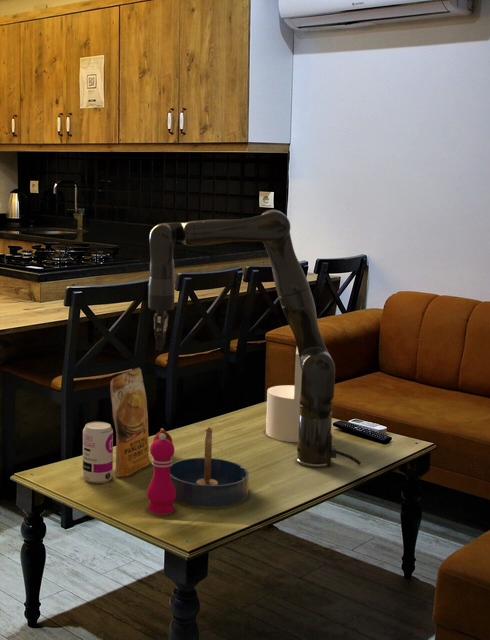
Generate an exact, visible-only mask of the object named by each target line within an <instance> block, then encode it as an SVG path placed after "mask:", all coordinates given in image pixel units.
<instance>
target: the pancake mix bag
mask: <svg viewBox="0 0 490 640" xmlns="http://www.w3.org/2000/svg"><path fill="white" fill-rule="evenodd" d="M109 384H110V386H109V387H110V388H109V392H110V399H111V406H112V419H113V425H114V429H115V438H116V439H115V441H116V442H115V443H116V445H115V469H114V475H115V477H116V478H121V477H129V476H132V475H134V474H136V473H137V471H140V470H141V469H142V468H145V467H147V466H149V465H150V464H151V461H150V456H149V455H150V454H149V453H150V444H149V443H150V442H149V440H150V438H149V414H148V401H147V400H148V399H147V393H146V388H145V384H144V377H143V372H142V369H141V367H135V368H133V369H131V370H128V371H124V372H122V373H121V374H118V375H116V376H115V377H113V378H112V379H111V380H110V383H109Z"/></svg>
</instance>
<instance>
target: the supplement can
mask: <svg viewBox="0 0 490 640" xmlns="http://www.w3.org/2000/svg"><path fill="white" fill-rule="evenodd" d="M113 463H114V430H113V428H112V425H111V424H110V423H108V422H104V421H91V422H88V423H86V424H85V426H84V428H83V429H82V478H83V479H84V480H85V481H86V482H88V483H92V484H103V483H108V482H110V480H111V479H112V478H113V472H114V471H113V470H114V469H113V468H114V466H113Z"/></svg>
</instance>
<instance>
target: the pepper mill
mask: <svg viewBox="0 0 490 640" xmlns="http://www.w3.org/2000/svg"><path fill="white" fill-rule="evenodd" d="M172 442H173V441H172ZM172 442H171V441H169V440H167V439H166V435H165V434H164V433H161V434H160V435H159V439H157V440H155V441H154V442H153V441H152V443H151V444H150V446H149V453H150V455H151V456H152V458H151V465H152V466H153V474H152V478H151V480H150V483H149V485H148V486H147V490H146V497H147V499H148V501H149V503H148V511H149V512H151V513H153V514H157V515H168V514H171V513H174V510H175V504H174V501H175V500H176V499H175V498H176V490H175V487H174V485H173V482H172V480H171V477H170V466H171V465H172V463H173V459H172V457H173V456H174V454H175V445H174V443H172Z"/></svg>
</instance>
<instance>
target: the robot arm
mask: <svg viewBox="0 0 490 640" xmlns="http://www.w3.org/2000/svg"><path fill="white" fill-rule="evenodd" d="M233 242H234V243H235V242H259V243H263V245H264V248H265V250H266V253H267V255H268V258H269V262H270V266H271V271H272V277H273V281H274V285H275V291H276V293H277V294H276V295H277V298H278V300H279V304H280V306H281V307H280V308H281V309H282V312H283V314H284V317H285V319H286V322H287V324H288V325H289V328H290V330H291V332H292V335H293V336H294V339H295V340H294V341H295V344H296V349H297V348H298V353H299V358H300V365H301V369H302V380H301V394H300V407H299V432H298V442H297V448H296V449H297V450H296V451H297V453H296V454H297V457H296V462H297V463H298V464H299V465H301V466H304V467H309V468H326V467H331V466H332V459H337V455H339V456H342V457H345V458H346V459H349V460H350V461H352V462H354V463H355V464H357V465H358V466H361V464H362V461H361V460H359V459H357V458H356V457H354V456H352V455H351V454H348V453H346V452H343V451H340V450H337V448H336V445H335V444H333V433H332V425H333V423H332V422H333V401H334V396H335V387H336V386H335V385H336V365H335V362H334V360H333V357H332V356H331V354H330V353H329V350H328V349H327V346H326V344H325V342H324V339H323V337H322V334H321V331H320V329H319V322H318V315H317V309H316V303H315V299H314V296H313V293H312V290H311V287H310V284H309V280H308V279H307V276H306V274H305V272H304V270H303V268H302V266H301V263H300V261H299V259H298V257H297V255H296V252H295V249H294V245H293V241H292V236H291V223H290V220H289V218H288V217H287V215H286V214H285V213H283V212H282V211H280V210H277V209H268V210H266V211H264V212H263V213H261V215H260V214H259V215H256V216H251V217H246V218H239V219H204V220H192V221H191V220H190V221H186V222H162V223H157V225H155V226H153V228H152V229H151V230H150V232H149V256H150V261H149V280H148V306H147V307H148V309H150V310H153V311H156V313H154V315H153V322H154V323H153V330H154V333H153V336H154V338H155V351H161V352H162V351H164V345H166V343H167V342H166V338H167V337H166V336H167V335H166V334H167V331H168V330H167V329H168V326H169V325H168V324H169V322H168V321H169V314H168V311H172V310H174V308H175V291H176V290H175V285H176V284H175V261H174V247H176V246H177V247H178V246H190V247H192V246H193V247H196V246H205V245H206V246H207V245H216V244H224V243H233Z"/></svg>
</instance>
